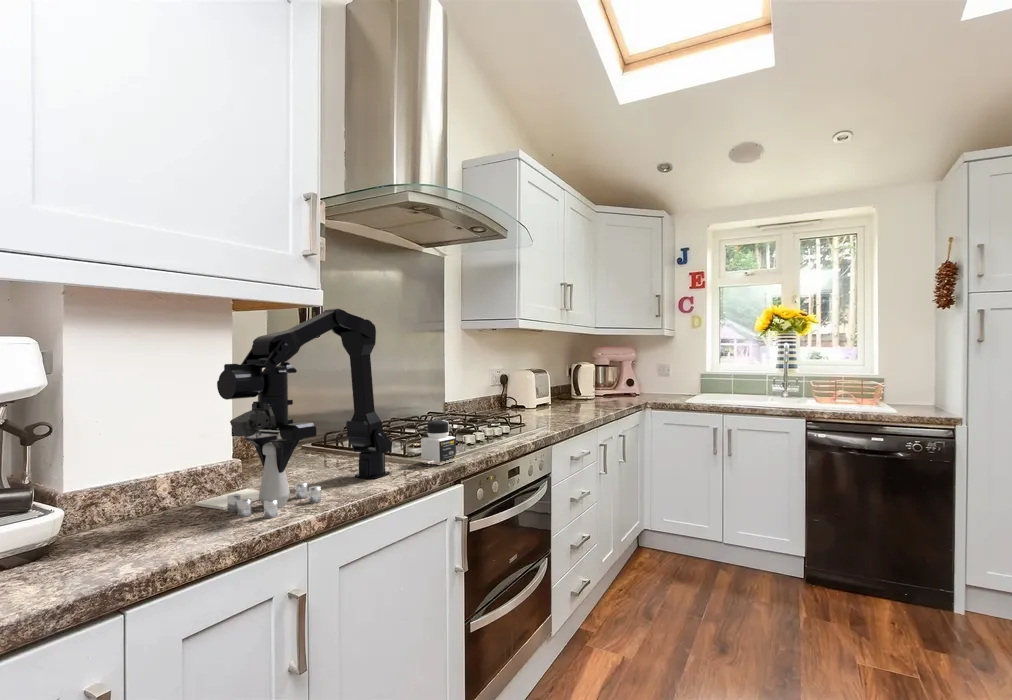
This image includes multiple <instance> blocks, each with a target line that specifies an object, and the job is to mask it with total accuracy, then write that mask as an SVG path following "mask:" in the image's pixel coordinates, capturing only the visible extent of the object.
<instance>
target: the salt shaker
mask: <svg viewBox="0 0 1012 700" xmlns="http://www.w3.org/2000/svg"><path fill="white" fill-rule="evenodd" d="M262 450H263V454H264V455H266V458H265V464H264V467H263V469H262V470H263V471H262V476H261V482H260V487H259V491H260V492H259V501H260V503H261V505H262V507H263V508H264V501H265V500H269V499H277V500H278V509H279V508H281V507H284V506H286V504H287V502H288V500H289V497H290V493H291V492H290V486H289V482H288V478H287V473H286V469H285V470H284V472H281V473H279V471H278V468H277V458H276V448H275V446H274V445H273V444H272V443H271V442H270V443H266V444H265V445H264V446H263V449H262Z"/></svg>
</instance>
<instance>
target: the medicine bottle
mask: <svg viewBox="0 0 1012 700" xmlns="http://www.w3.org/2000/svg"><path fill="white" fill-rule="evenodd" d="M449 427H450V424H449V422H448V421H447V420H445V419H443V420H442V419H436V420H430V421H427V436H428V437H424V438H420V452H421V454H420V455H421V457H420V458H424V459H430V460H434V461H438V462H442V461H446V460H449V459H453V458H456V459H457V450H456V444H457V442H456V437H455V436H452V435H451V436H450V435H449V434H450V433H449V432H450V428H449Z"/></svg>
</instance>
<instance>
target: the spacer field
mask: <svg viewBox="0 0 1012 700" xmlns="http://www.w3.org/2000/svg"><path fill="white" fill-rule="evenodd" d="M305 498H308V503H310V504H317V503H321V502H322V486H321V485H312V486H309V487H308V482H307V481H301V482H296V483H295V499H297V500H299V499H300V500H301V499H305ZM278 509H279V508H278V500H277V499H269V500H265V501H264V507H263V518H264V519H273V518H277V517H278V515H279V513H278V512H279V510H278ZM226 510H227V512H228V513H236V512H237V518H247V517H250V516H252V502H251V498H244V499H241V494H232V495H229V496H227V509H226Z"/></svg>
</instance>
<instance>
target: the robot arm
mask: <svg viewBox="0 0 1012 700" xmlns="http://www.w3.org/2000/svg"><path fill="white" fill-rule="evenodd" d="M330 331H331V332H332V333H333V334H335V335H336V336H339V337H340V339H341V344H342V346H343V348H344V350H345V351H346V353H347V354H348V356H349V363H350V376H351V386H352V387H351V388H352V399H353V415H352V417H351V419H350V420H347V421H345V422H346V423H345V425H346V431H347V432H346V438H348V441H349V443H350V445H351V447H352V451H353V452H354V453H359V455H358V473H356V474H354V477H355V478H361V479H371V480H372V479H374V480H375V479H378V478H381V477H383V476H384V477H385V476H387V475H390V474H391V472H390V471H387V470H386V453H388V452H391V451H392V446H393V442H392V440H390V438H389V437H388V436H387V435H386V434H385V431H384V426H383V423H382V420H381V418H380V417H379V416H378V414H377V412H376V410H375V401H374V400H375V399H374V386H373V373H372V361H371V354H372V352H373V350H374V348H375V346H376V343H377V342H376V339H377V338H376V337H377V336H376V335H377V329H376V325H375V324H374V323H373V322H372V321H371V320H370V319H366V318H365V319H364V318H363V317H361V316H358V315H355V314H352V313H349V312H347V311H345V310H344V309H341V308H329V309H325V310H324V311H323V312H321V313H319V314H317V315H315V316H313V317H311V318H309V319H307V320H305V321H303V322H301V323H299V324H297V325H295V326H292V327H291V328H289V329H286V330H282V331H281V330H280V331H278V332H277V331H276V332H272V333H267V334H264V335H259V336H257V337H256V338H254V340H253V341H252V346H251V348H250V350H249V352H248V353H247V354H246V356H245V357H244V359H243V361H242V362H241V363H240V364H239V363H225V364H224V365H223V371H222V372H221V373H220V374H219V376H218V380H217V381H216V388H217V389H216V390H217V392H218V394H219V396H220V397H221V398H222V399H224V400H238V399H248V398H249V399H250V398H256V397H257V401H256V400H255V401H253V402H252V404H251V410H248V411H246V412H243V413H242V414H241V415H238V416H236V417H235V418H233V419H231V420H229V423H230V425H231V437H238V438H239V437H240V438H241V437H245V438H244V440H245V442H248V443H250V444H251V445H252V446H253V447H254V448H255V450H256V452H257V454H258V456H259V459H260V462H261V464H262V467H263V468H264V464H265V458H266V455H264V454H263V450H262V449H263V446H264V445H265V444H266V443H270V442H271V443H272V444H273V445H274V446H275V448H276V458H277V468H278V471H279V473H281V472H284V470H285V471H286V468H287V465H288V463H289V461H290V459H291V456H292V454H293V453H294V451H295V449H296V447H297V446H298V444H299V442H300V441H302V440H304V439H307V438H308V439H309V438H313V437H317V434H318V433H317V431H318V430H317V426H316V425H315V423H314V422H308V421H307V422H303V421H300V422H294V419H293V418H289V406H291V405H293V403H294V402H293V401H294V400H293V399H289V383H288V381H289V380H288V378H289V374H295V373H297V372H298V370H297V369H296V368H295V367H294V366H292V365H291V363H290V362H289V360H290V359H292V358H293V357H294V356H296V355H297V354H298V353H299V351H300V349H301V348H302V347H303V346H304V345H306V344H307V343H309V342H311V341H313V340H314V339H317V338H318V337H321V336H322V335H324V334H326V333H327V332H330Z"/></svg>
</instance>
